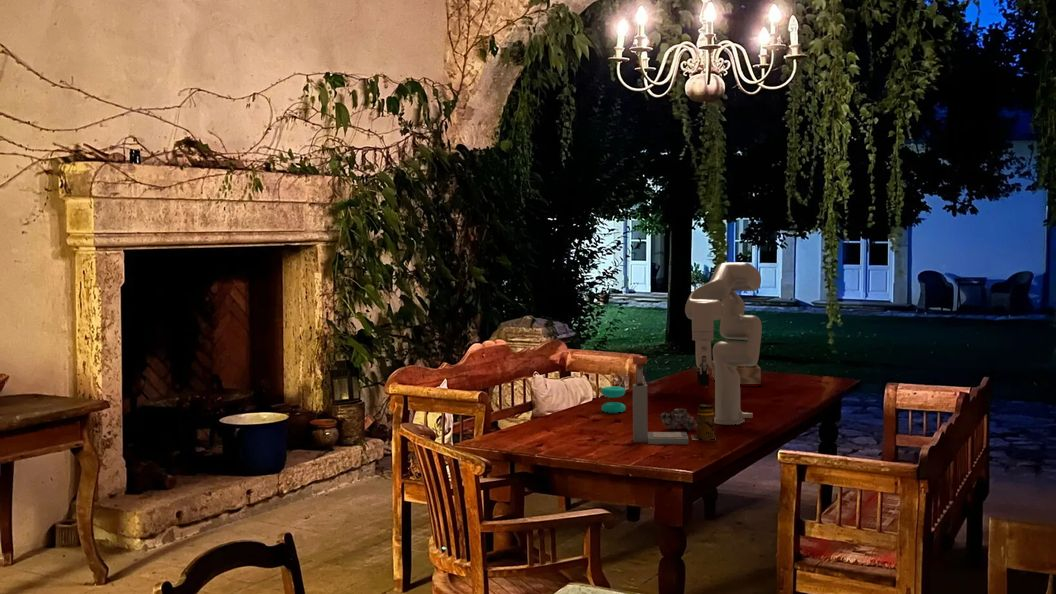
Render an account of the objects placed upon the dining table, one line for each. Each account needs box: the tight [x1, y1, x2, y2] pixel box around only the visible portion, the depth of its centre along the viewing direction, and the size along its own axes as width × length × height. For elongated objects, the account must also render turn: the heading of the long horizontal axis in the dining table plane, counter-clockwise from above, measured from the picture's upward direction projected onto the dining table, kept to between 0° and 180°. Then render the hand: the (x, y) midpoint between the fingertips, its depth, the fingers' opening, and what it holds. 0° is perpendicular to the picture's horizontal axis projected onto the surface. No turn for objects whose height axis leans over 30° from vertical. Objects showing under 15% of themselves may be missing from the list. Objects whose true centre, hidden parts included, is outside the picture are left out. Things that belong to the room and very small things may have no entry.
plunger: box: [632, 355, 648, 386], centre depth 370 cm, size 5×5×13 cm
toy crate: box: [711, 360, 762, 384], centre depth 508 cm, size 20×29×9 cm
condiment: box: [690, 403, 717, 441], centre depth 375 cm, size 7×8×12 cm
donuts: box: [600, 385, 627, 414], centre depth 432 cm, size 10×10×10 cm
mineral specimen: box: [659, 407, 697, 432], centre depth 391 cm, size 12×9×10 cm
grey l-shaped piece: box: [632, 383, 690, 445], centre depth 371 cm, size 19×12×20 cm, turn 85°
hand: (702, 383), depth 374 cm, fingers open, 9 cm apart
